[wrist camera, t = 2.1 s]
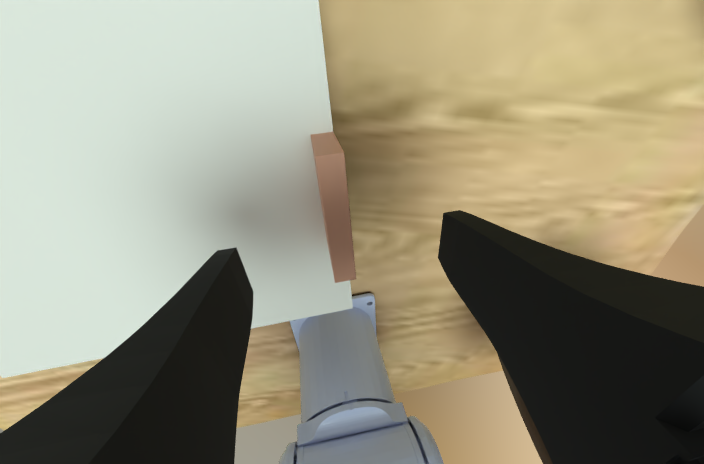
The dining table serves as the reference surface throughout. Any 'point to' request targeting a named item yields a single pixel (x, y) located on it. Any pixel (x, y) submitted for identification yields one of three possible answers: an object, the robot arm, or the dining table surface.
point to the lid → (161, 167)
